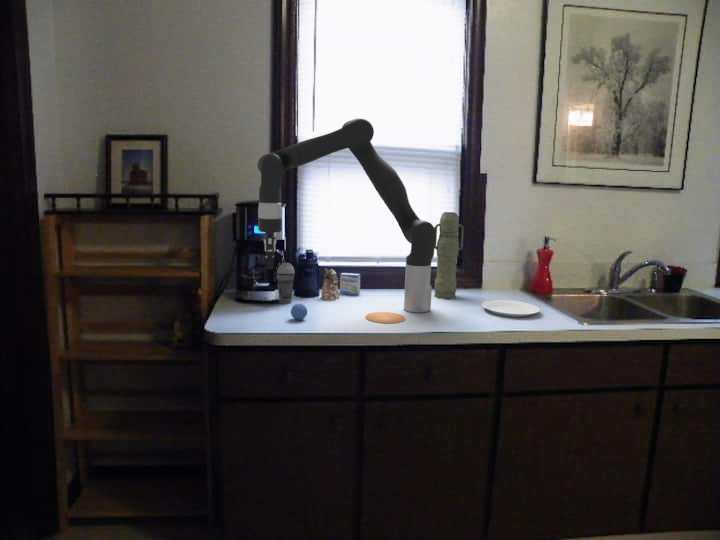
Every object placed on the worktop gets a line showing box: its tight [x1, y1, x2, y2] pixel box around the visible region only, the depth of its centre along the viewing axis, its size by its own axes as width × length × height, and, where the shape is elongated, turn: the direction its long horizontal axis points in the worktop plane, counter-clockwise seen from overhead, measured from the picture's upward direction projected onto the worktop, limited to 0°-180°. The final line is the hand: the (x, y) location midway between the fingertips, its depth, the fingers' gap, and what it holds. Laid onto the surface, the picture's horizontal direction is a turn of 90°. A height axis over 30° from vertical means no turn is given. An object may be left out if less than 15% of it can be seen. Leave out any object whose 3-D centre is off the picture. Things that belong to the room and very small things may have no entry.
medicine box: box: [339, 272, 361, 296], centre depth 210 cm, size 8×4×9 cm, turn 80°
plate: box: [481, 299, 541, 318], centre depth 189 cm, size 21×21×2 cm
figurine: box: [320, 268, 340, 301], centre depth 202 cm, size 7×7×12 cm
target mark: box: [365, 311, 407, 325], centre depth 176 cm, size 14×14×1 cm
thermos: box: [433, 211, 465, 300], centre depth 208 cm, size 9×12×35 cm
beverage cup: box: [275, 250, 296, 305], centre depth 192 cm, size 7×7×20 cm
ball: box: [290, 303, 308, 321], centre depth 171 cm, size 6×6×6 cm
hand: (270, 267), depth 166 cm, fingers open, 7 cm apart
